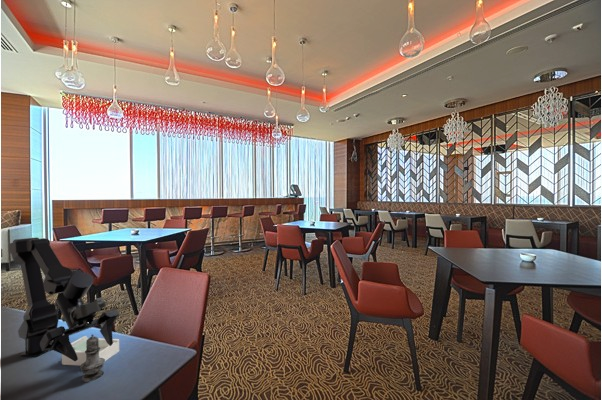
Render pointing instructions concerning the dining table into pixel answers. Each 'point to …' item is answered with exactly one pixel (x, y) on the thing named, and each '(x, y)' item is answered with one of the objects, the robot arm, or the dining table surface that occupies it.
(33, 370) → the dining table surface
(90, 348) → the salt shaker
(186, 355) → the dining table surface
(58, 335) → the robot arm
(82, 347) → the bar
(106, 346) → the box
